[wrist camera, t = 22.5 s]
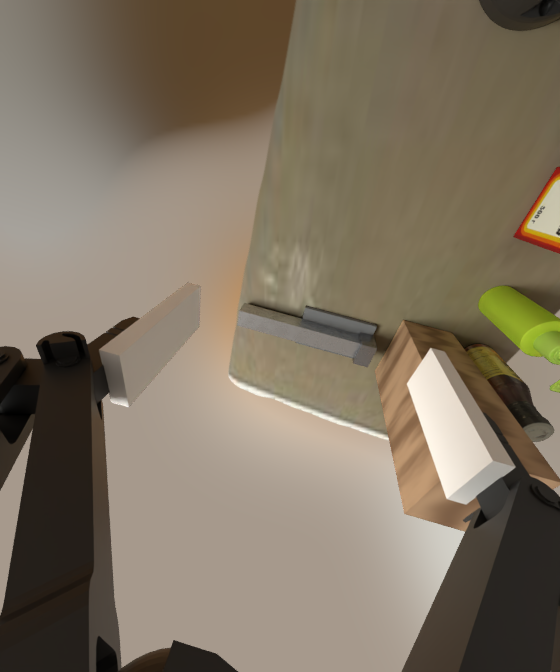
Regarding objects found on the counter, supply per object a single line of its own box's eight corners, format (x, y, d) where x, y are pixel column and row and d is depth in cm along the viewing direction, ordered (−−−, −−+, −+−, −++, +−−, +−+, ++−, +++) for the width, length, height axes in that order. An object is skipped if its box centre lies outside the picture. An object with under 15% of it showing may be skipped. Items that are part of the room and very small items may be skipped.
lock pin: (242, 319, 58) (235, 330, 54) (244, 300, 55) (237, 310, 51) (365, 353, 57) (367, 367, 53) (374, 335, 54) (377, 348, 50)
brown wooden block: (374, 371, 60) (404, 513, 35) (403, 319, 52) (467, 456, 27) (417, 382, 59) (478, 535, 35) (452, 333, 52) (562, 483, 27)
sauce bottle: (491, 363, 54) (562, 448, 37) (457, 368, 56) (509, 451, 39) (492, 337, 51) (569, 417, 34) (456, 343, 53) (512, 422, 36)
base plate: (295, 340, 59) (295, 342, 58) (306, 305, 54) (305, 307, 53) (360, 357, 59) (360, 360, 58) (376, 324, 54) (376, 326, 53)
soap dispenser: (468, 315, 49) (536, 388, 33) (491, 282, 46) (581, 345, 29) (498, 323, 49) (583, 401, 33) (524, 290, 45) (635, 358, 29)
